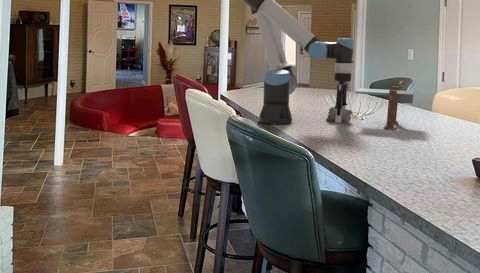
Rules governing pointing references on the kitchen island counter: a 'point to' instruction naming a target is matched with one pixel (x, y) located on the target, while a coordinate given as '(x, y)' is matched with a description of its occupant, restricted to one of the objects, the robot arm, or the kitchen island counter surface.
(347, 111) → the stone
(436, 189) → the kitchen island counter surface
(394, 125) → the frame
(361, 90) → the trapdoor
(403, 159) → the kitchen island counter surface
